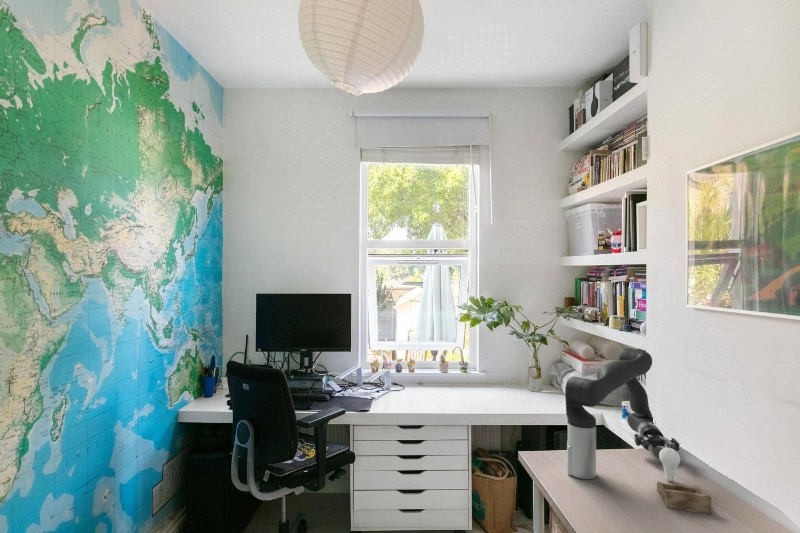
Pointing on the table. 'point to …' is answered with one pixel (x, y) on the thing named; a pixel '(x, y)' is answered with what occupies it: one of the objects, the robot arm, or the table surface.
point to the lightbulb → (669, 462)
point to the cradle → (684, 498)
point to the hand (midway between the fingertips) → (661, 449)
